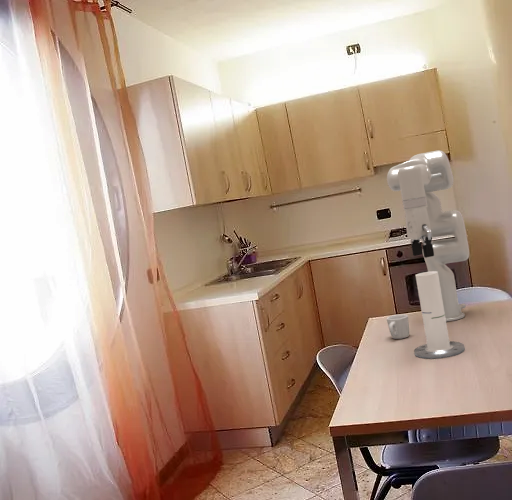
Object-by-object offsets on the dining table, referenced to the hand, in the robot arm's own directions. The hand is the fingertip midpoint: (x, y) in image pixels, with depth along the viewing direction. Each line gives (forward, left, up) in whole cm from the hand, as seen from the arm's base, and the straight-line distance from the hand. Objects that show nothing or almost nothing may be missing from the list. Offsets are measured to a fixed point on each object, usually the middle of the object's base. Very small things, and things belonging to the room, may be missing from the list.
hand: (423, 255), depth 203 cm
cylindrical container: (0, 0, -31) cm, 31 cm away
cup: (-10, -26, -32) cm, 43 cm away
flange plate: (0, 0, -32) cm, 32 cm away
